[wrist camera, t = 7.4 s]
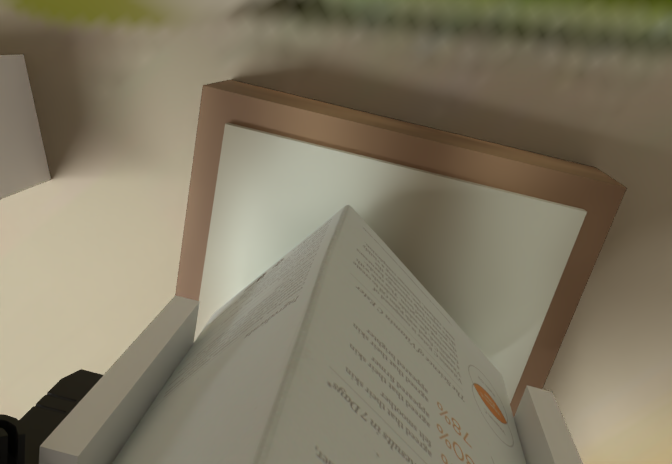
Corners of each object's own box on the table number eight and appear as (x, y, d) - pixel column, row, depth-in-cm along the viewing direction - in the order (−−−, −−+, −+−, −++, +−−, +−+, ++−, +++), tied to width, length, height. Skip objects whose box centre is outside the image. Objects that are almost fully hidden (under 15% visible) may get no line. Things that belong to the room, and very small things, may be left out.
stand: (185, 383, 26) (154, 430, 22) (230, 79, 21) (199, 85, 18) (479, 461, 25) (490, 519, 22) (595, 167, 20) (630, 190, 17)
